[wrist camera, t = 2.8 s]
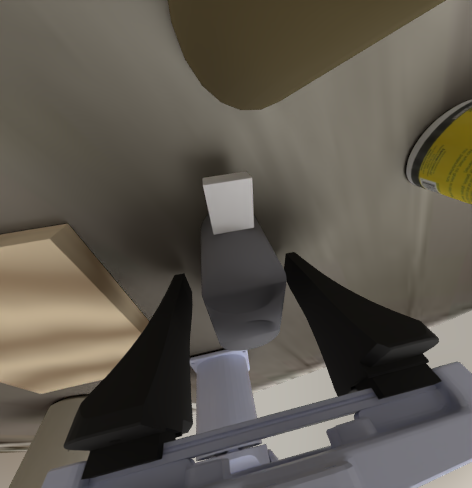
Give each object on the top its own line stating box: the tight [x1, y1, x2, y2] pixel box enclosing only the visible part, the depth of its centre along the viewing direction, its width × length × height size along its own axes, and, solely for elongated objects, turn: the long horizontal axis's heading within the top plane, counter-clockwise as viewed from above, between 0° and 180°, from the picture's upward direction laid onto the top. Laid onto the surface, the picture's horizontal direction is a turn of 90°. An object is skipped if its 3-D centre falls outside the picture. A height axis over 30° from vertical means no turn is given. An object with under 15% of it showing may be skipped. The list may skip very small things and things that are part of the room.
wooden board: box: [0, 224, 149, 394], centre depth 14 cm, size 18×14×2 cm
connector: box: [201, 171, 286, 351], centre depth 11 cm, size 11×4×5 cm, turn 6°
